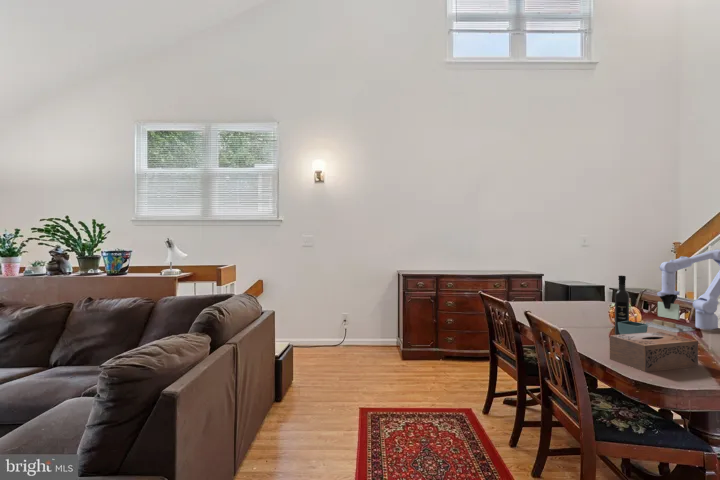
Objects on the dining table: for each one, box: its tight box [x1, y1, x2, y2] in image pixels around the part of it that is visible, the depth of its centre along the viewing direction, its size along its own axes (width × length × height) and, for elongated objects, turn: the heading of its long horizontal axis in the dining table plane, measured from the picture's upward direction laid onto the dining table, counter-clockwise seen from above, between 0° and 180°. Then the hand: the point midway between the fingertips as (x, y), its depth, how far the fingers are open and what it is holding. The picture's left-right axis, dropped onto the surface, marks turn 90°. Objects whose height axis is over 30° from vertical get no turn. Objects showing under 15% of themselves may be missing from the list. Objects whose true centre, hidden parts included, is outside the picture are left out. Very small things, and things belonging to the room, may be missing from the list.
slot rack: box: [645, 321, 694, 333], centre depth 196 cm, size 15×16×2 cm
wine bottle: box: [614, 275, 630, 335], centre depth 186 cm, size 6×6×30 cm
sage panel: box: [657, 301, 681, 321], centre depth 201 cm, size 1×10×8 cm, turn 18°
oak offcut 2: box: [664, 321, 677, 328], centre depth 193 cm, size 2×4×4 cm, turn 18°
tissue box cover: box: [609, 331, 699, 373], centre depth 145 cm, size 26×14×10 cm, turn 103°
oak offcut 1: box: [652, 319, 665, 326], centre depth 198 cm, size 2×4×4 cm, turn 18°
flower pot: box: [618, 320, 648, 335], centre depth 173 cm, size 9×9×9 cm
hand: (668, 308), depth 201 cm, fingers closed on sage panel, 1 cm apart
